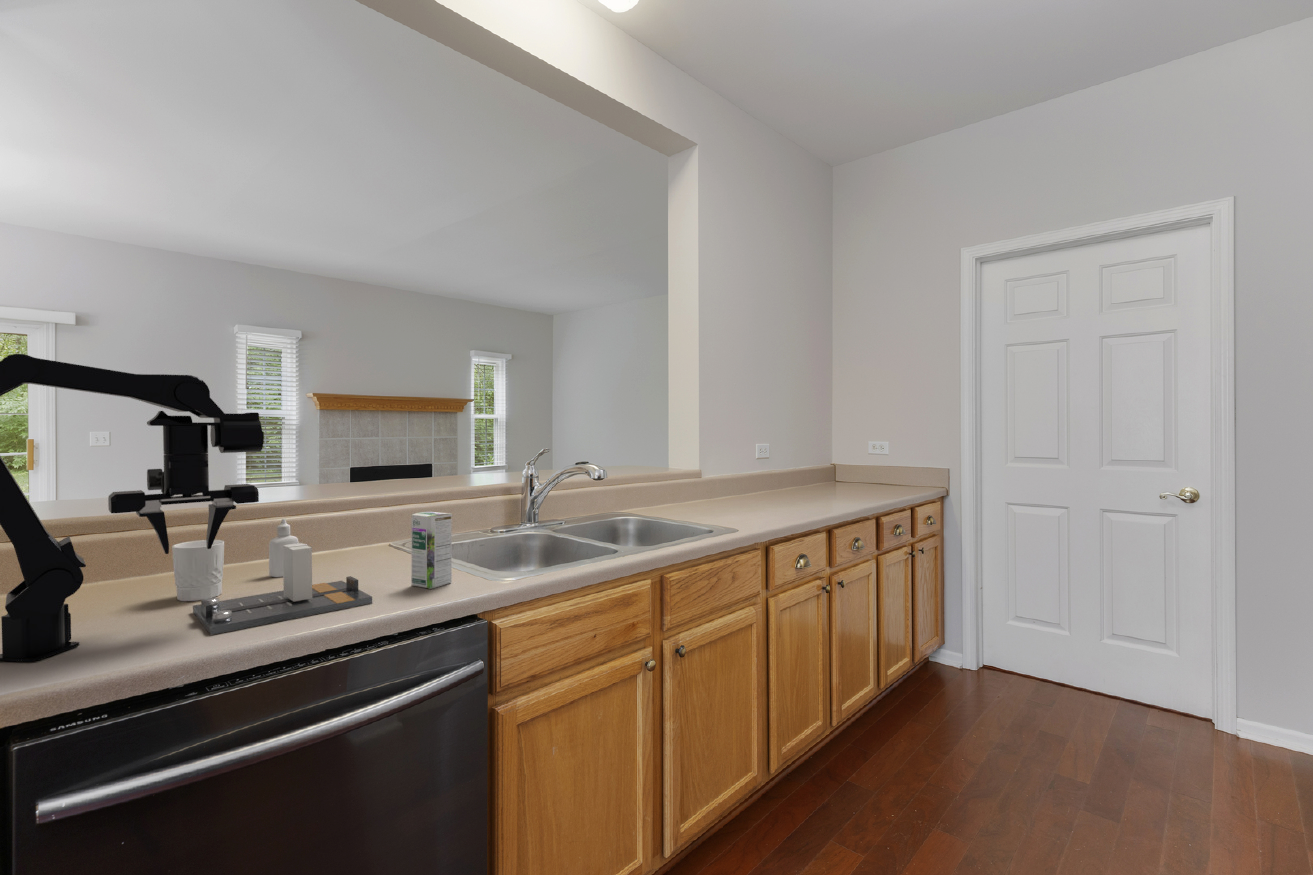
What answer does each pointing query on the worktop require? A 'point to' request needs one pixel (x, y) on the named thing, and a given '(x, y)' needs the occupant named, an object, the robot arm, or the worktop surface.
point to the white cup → (198, 569)
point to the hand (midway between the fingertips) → (188, 551)
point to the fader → (297, 571)
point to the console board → (277, 606)
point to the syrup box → (431, 549)
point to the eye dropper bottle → (279, 548)
